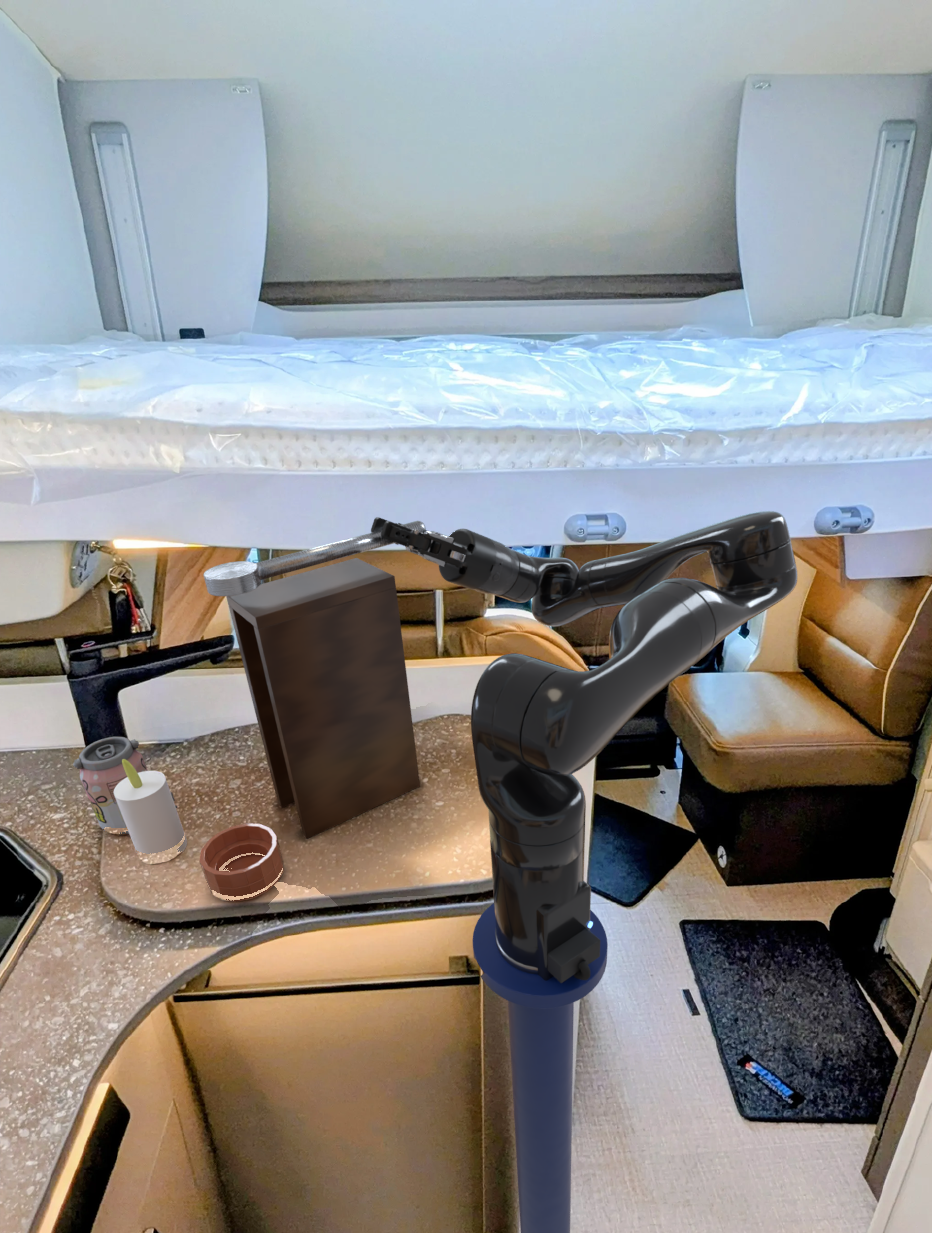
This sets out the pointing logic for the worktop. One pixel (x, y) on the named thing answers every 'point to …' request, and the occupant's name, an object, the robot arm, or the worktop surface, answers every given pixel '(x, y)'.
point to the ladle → (289, 563)
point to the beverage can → (107, 775)
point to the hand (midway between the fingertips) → (379, 527)
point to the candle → (149, 810)
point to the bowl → (242, 860)
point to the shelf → (329, 690)
